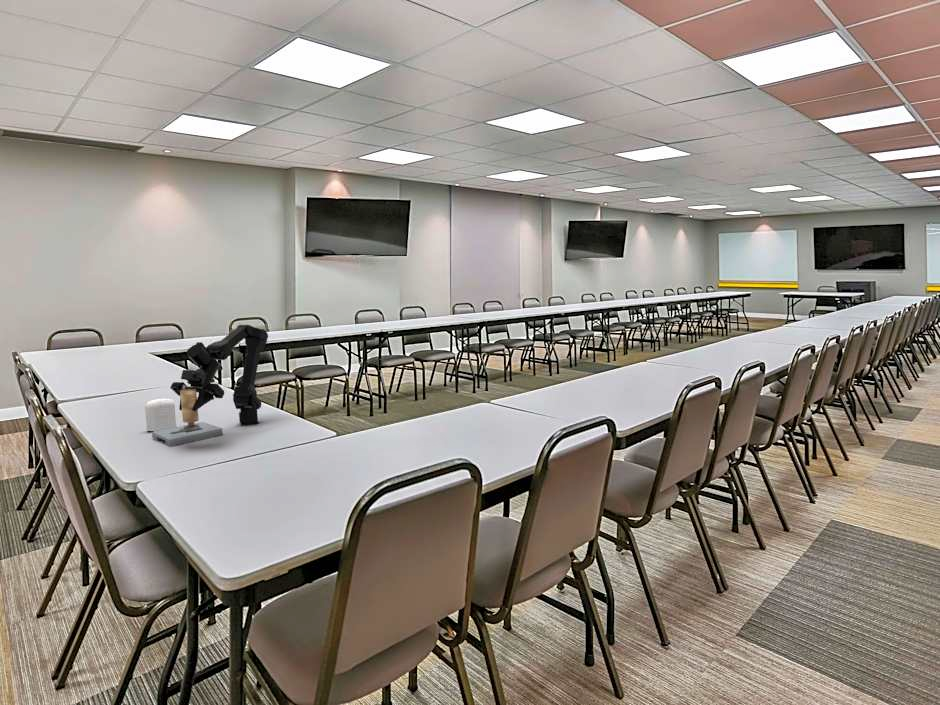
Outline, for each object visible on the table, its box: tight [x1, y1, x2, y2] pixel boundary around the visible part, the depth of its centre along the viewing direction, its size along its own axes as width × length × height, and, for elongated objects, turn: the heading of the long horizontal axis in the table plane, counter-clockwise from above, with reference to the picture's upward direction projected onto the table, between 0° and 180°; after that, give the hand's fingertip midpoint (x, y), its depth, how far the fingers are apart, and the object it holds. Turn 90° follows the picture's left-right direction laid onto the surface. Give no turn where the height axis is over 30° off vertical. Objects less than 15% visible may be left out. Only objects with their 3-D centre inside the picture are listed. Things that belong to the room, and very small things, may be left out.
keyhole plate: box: [151, 421, 224, 447], centre depth 217 cm, size 19×16×2 cm
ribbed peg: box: [180, 389, 199, 431], centre depth 203 cm, size 5×5×14 cm
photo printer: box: [144, 398, 177, 432], centre depth 227 cm, size 10×4×12 cm, turn 123°
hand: (186, 410), depth 201 cm, fingers closed on ribbed peg, 5 cm apart
